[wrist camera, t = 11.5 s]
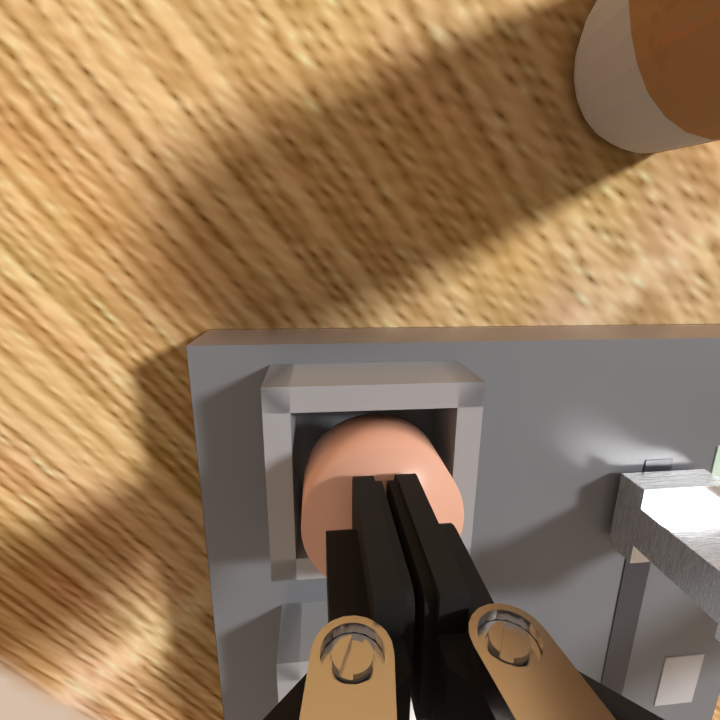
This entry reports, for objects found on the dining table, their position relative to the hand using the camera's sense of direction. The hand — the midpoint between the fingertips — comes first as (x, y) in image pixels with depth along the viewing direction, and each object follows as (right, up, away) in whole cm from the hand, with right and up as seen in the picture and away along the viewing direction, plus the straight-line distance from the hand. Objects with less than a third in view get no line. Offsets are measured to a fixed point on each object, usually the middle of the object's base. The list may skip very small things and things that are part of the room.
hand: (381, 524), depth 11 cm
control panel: (+5, -4, +9) cm, 11 cm away
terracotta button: (0, +1, +3) cm, 3 cm away
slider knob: (+12, -2, +6) cm, 13 cm away
